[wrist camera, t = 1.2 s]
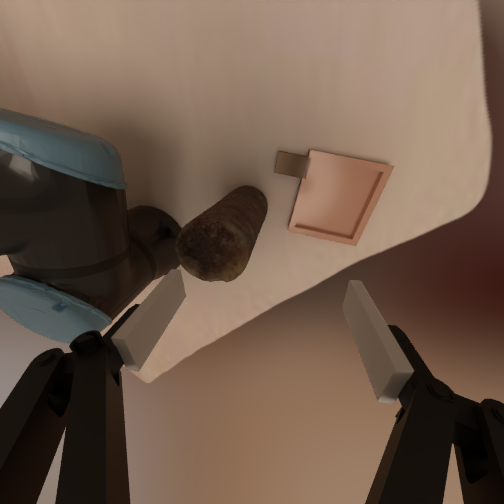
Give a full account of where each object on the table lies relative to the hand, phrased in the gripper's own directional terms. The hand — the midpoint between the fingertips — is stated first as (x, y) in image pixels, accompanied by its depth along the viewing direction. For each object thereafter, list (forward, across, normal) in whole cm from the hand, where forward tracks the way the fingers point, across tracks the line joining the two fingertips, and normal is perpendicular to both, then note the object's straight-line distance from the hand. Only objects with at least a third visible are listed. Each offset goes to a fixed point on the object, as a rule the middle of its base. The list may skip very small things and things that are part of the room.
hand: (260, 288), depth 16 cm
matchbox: (+23, +3, +7) cm, 24 cm away
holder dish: (+23, +10, +2) cm, 25 cm away
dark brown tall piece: (+23, -4, 0) cm, 24 cm away
